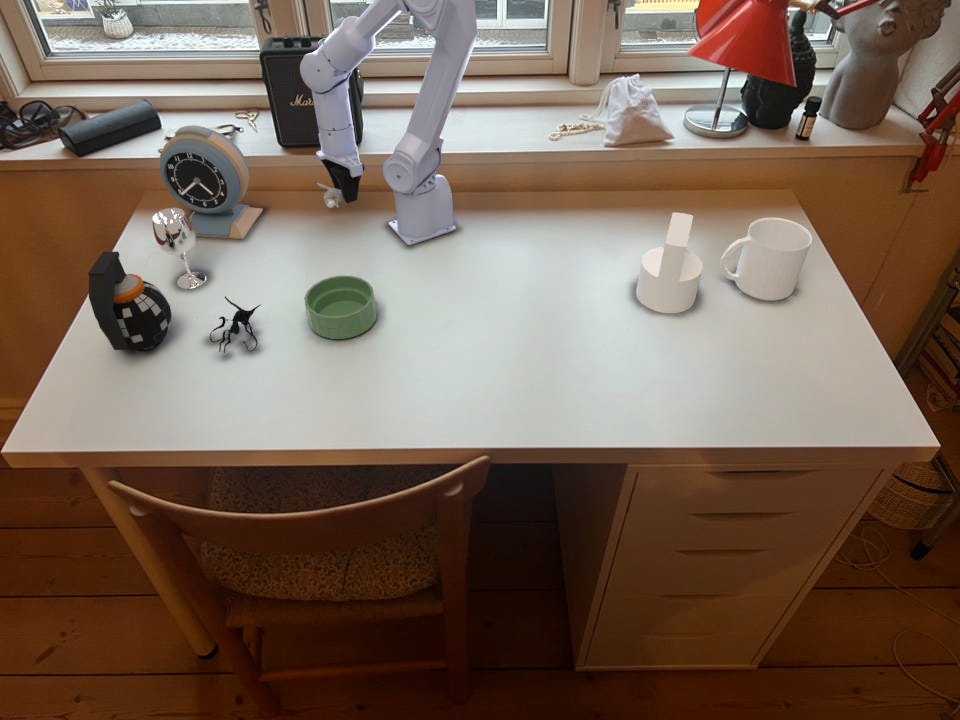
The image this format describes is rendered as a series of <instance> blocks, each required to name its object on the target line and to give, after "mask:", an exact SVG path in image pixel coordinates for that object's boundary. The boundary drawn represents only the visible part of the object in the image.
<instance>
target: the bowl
mask: <svg viewBox="0 0 960 720" xmlns="http://www.w3.org/2000/svg"><path fill="white" fill-rule="evenodd" d="M375 298H376V297H375V292H374V288H373V286H372V285H371V284H370V282H369V281H367V280H366V279H363V278H361V277H359V276H354V275H342V274H341V275H334V276H329V277H326V278H323V279H321V280H319V281H317V282H316V283H314V284H313V285H312V286H311V287H309V289H307V291H306V293H305V295H304V298H303V299H304V307H305V311H306V315H307V319H308V324H309V326H310V328H311V329H312V331H313V332H314V333H315V334H317V335H319V336H320V337H323V338H327V339H332V340H334V339H335V340H345V339H350V338H354V337H357V336H359V335H361V334H363V333H365V332H366V331H368V330H369V329H370V328H372V326H374V324H375V322H376V320H377V316H378V314H377V306H376V299H375Z"/></svg>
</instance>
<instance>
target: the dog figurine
mask: <svg viewBox="0 0 960 720" xmlns="http://www.w3.org/2000/svg"><path fill="white" fill-rule="evenodd" d="M316 185H317V186H318V187H319V188H322V189H325V190H326V192H325V193H324V194H323V200H324V203H325V206H326V207H327V208H329V209H332V208H337V209H339V208H340V206H339V203H340V202H341V201H345V200H344V198H343V195H342V192H341V190H339V189H336V188H335V187H329V186H327V185H325V184H323V183H320V182H316ZM333 198H335V199H333Z"/></svg>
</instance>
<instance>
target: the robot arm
mask: <svg viewBox="0 0 960 720" xmlns="http://www.w3.org/2000/svg"><path fill="white" fill-rule="evenodd" d="M401 13H404V14H409V13H412V15H414V16H415V18H416V19H417V20H418V22H420V24H421V25H422V26H423V27H424V29H425V30H426V31H427V32H428V34H429V35H430V36H431V37H432V38H433V39H434V40H435V44H434V46H433V49H432V52H431V55H430V58H429V62H428V64H427V67H426V71H425V73H424V77H423V79H422V82H421V86H420V88H419V91H418V95H417V98H416V100H415V104H414V107H413V109H412V113H411V116H410V118H409V122H408V124H407V128H406V131H405V132H404V134H403V136H402V137H401V138H400V140H399V142H398V143H397V145H396V146H395V147H394V150H393V154H392V155H391V156H390V157H388V158H387V159H386V160H385V161H384V163H383V166H382V175H383V178H384V180H385V182H386V184H387V185H388V187H390V188H391V190H392V192H393V197H394V198H393V199H394V206H395V207H394V209H395V216H396V219H394V220H391V221H389V222H388V226H389V227H390V229H392V230H393V231H394V232H395V233H396V235H397V236H398V237H399V238H400V239H401V240H402V241H403V242H404V243H405V244H406V245H407V246H413V245H416V244H418V243H421V242H422V243H423V242H424V241H428V240H431V239H434V238H437V237H439V236H442V235H445V234H448V233H451V232H454V231H456V229H457V227H456V225H454V224H455V223H454V203H453V202H454V201H453V192H452V189H451V185H450V184H449V181H448V180H447V179H446V177H445V176H444V175H442V174H437V169H438V168H439V167H440V166H441V164H442V161H443V152H442V148H443V147H442V146H443V144H444V141H445V140H444V138H443V137H442V132H443V129H444V127H445V124H446V122H447V119H448V117H449V113H450V111H451V108H452V105H453V103H454V100H455V97H456V95H457V92H458V91H459V88H460V84H461V82H462V79H463V77H464V75H465V71H466V69H467V66H468V63H469V61H470V58H471V55H472V53H473V50H474V48H475V45H476V42H477V40H478V39H477V38H478V24H477V11H476V0H373V1H372V2H371V3H370V4H369V5H368V7H366V9H365V10H364V11H363V12H362V13H361V14H360V16H354V15H352V16H351V15H350V16H347V17H343V16H342V17H340V18H338V19H337V20H335V22H334V23H333V27H334V29H333V31H332V32H331V33H329V35H328V36H327V37H323V38H321V39H320V40H319V41H318V42H317V44H318V48H317V49H316V50H314V51H313V52H309V53H306V54H304V55H303V58H302V60H301V61H300V65H299V73H300V76H301V79H302V81H303V82H304V84H305V85H306V86H307V87H308V89H310V90H311V95H312V101H313V105H314V111H315V112H314V113H315V117H316V123H317V128H318V140H319V144H320V150H318V151H316V152H315V156H316V158H318V160H319V161H321V163H322V164H323V166H324V167H325V169H326V171H327V173H328V174H329V177H330V179H331V181H332V184H333V188H336V189H339V190H341V192H342V195H343V198H344V200H343V201H344V202H345V203H346V204H349V203H353V202H357V201H358V197H359V188H360V181H361V178H362V176H363V175H364V172H365V168H366V167H365V166H366V165H365V164H364V162H362V161H360V157H359V150H358V149H359V148H358V145H357V143H356V136H355V131H354V123H353V117H352V116H353V115H352V110H351V109H352V108H351V102H350V95H349V89H350V83H349V80H350V77H351V76H352V74H353V70H354V69H355V68H357V67H358V65H360V64H361V63H362V61H364V60H365V59H366V58H367V57H368V56H369V55H370V54H372V52H373V51H374V50H375V48H376V36H377V34H378V33H379V32H381V31H382V30H383V29H384V28H386V26H387V25H389V23H391V22H392V21H393V20H394V19H396V18H397V16H399V15H400V14H401Z"/></svg>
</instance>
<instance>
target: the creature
mask: <svg viewBox="0 0 960 720" xmlns="http://www.w3.org/2000/svg"><path fill="white" fill-rule="evenodd" d="M224 299H225V300H226V301H227V302H228V303H229V304H230V305H232V306H233V307H235V308H236V309H237V311H235V313H234V316H233V317H232V319H230V321H231V322H232V323H231V324H230V322H229V319H228V318H227V319H226V318H225V316H224V315H223V316H219V318H218V319H219V320H222V322H221V324H220V325H219V326H216V327H215V328H214V329H213V330H212V331H211V332H210V333H209V340H210V342H211V343H216V342H219V341H220V342H219V350H218V352H219V353H220V352H221V351H222V344H224V343H225V341H226V340H227V342H226V343H225V344H224V346H223V347H224V348H223V354H225V353H226V347H227V346H228V345H229V344H231V343H232V339H231V335H232V334H234V335H236V336H237V335H239V334H240V329H241V327H240V324H241V325H242V326H243V327H244V331H245V333H247V334H248V335H250V337H252V338H253V340H254V342H255V346H254V348H253V349H252V350H249V348H248V345H247V344H246V342H247V340H246V341H242V343H243V345H245V348H246V349H247V352H253V351H254V350H255V349H256V348H257V347H258V343H259V341H258V339H257V338H256V336H255V335H254V332H253V329H252V326H251V323H250V318H251V317H252V316H253V315H254V313H255V311H256V310H257V309H258V308H259V307H260V306H262V305H263V304H258V305H257V306H255V307H253V308H252V309H250V310H245V309H244V308H242V307H240V306H239V305H237V304H236V303H234V302H232V301H231V300H230V299H228V297H227V296H224ZM226 322H227V323H228V324H229V326H230V328H229V329H225V330H223V332H222V338H220V339H217V340H216V341H215V340H212V338H211V337H212V333H213V332H215V331H217V330H218V329H219V330H220V329H223V328H224V327H225V325H226ZM239 323H240V324H239ZM247 326H248V327H249V330H250V331H249V330H248V327H247ZM226 331H227V333H226ZM226 334H227V335H226ZM225 336H227V337H225ZM250 339H251V338H249V339H248V341H250Z"/></svg>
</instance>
